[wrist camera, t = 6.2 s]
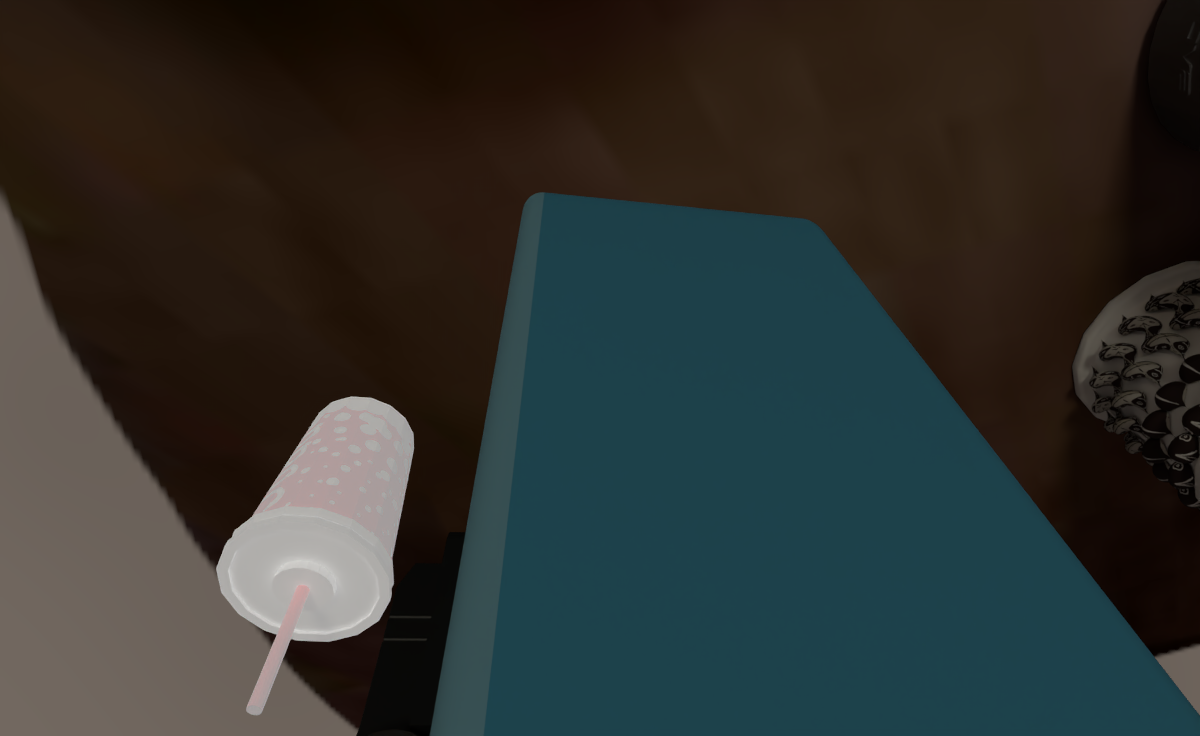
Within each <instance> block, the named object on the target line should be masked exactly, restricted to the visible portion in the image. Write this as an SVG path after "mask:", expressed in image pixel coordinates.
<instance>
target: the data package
mask: <svg viewBox="0 0 1200 736" xmlns="http://www.w3.org/2000/svg"><path fill="white" fill-rule="evenodd" d="M430 736H1200V715H1199V714H1198V713H1197V711H1196V710H1195V709H1194V708H1193V706H1192V705H1191V704H1190V702H1189V701H1188V700H1187V699H1186V697H1185V696H1184V695H1183V694H1182V692H1181V691H1180V690H1179V688H1178V687H1177V686H1176V684H1175V683H1174V682H1173V681H1172V679H1171V678H1170V677H1169V675H1168V674H1167V673H1166V672H1165V670H1164V669H1163V668H1162V666H1161V665H1160V664H1159V663H1158V661H1157V660H1156V659H1155V657H1154V656H1153V655H1152V654H1151V652H1150V651H1149V650H1148V648H1147V647H1146V646H1145V645H1144V643H1143V642H1142V641H1141V639H1140V638H1139V637H1138V636H1137V634H1136V633H1135V632H1134V630H1133V629H1132V628H1131V627H1130V625H1129V624H1128V623H1127V621H1126V620H1125V619H1124V618H1123V616H1122V615H1121V614H1120V612H1119V611H1118V610H1117V609H1116V607H1115V606H1114V605H1113V603H1112V602H1111V601H1110V600H1109V598H1108V597H1107V596H1106V594H1105V593H1104V592H1103V591H1102V589H1101V588H1100V587H1099V585H1098V584H1097V583H1096V582H1095V580H1094V579H1093V578H1092V576H1091V575H1090V574H1089V573H1088V571H1087V570H1086V569H1085V567H1084V566H1083V565H1082V564H1081V562H1080V561H1079V560H1078V558H1077V557H1076V556H1075V555H1074V553H1073V552H1072V551H1071V549H1070V548H1069V547H1068V546H1067V544H1066V543H1065V542H1064V540H1063V539H1062V538H1061V537H1060V535H1059V534H1058V533H1057V531H1056V530H1055V529H1054V528H1053V526H1052V525H1051V524H1050V522H1049V521H1048V520H1047V519H1046V517H1045V516H1044V515H1043V513H1042V512H1041V511H1040V510H1039V508H1038V507H1037V506H1036V504H1035V503H1034V502H1033V501H1032V499H1031V498H1030V497H1029V495H1028V494H1027V493H1026V492H1025V490H1024V489H1023V488H1022V486H1021V485H1020V484H1019V483H1018V481H1017V480H1016V479H1015V477H1014V476H1013V475H1012V474H1011V472H1010V471H1009V470H1008V468H1007V467H1006V466H1005V465H1004V463H1003V462H1002V461H1001V459H1000V458H999V457H998V456H997V454H996V453H995V452H994V450H993V449H992V448H991V447H990V445H989V444H988V443H987V441H986V440H985V439H984V438H983V436H982V435H981V434H980V432H979V431H978V430H977V429H976V427H975V426H974V425H973V423H972V422H971V421H970V420H969V418H968V417H967V416H966V414H965V413H964V412H963V411H962V409H961V408H960V407H959V405H958V404H957V403H956V402H955V400H954V399H953V398H952V396H951V395H950V394H949V393H948V391H947V390H946V389H945V387H944V386H943V385H942V384H941V382H940V381H939V380H938V378H937V377H936V376H935V375H934V373H933V372H932V371H931V369H930V368H929V367H928V366H927V364H926V363H925V362H924V360H923V359H922V358H921V357H920V355H919V354H918V353H917V351H916V350H915V349H914V348H913V346H912V345H911V344H910V342H909V341H908V340H907V339H906V337H905V336H904V335H903V333H902V332H901V331H900V330H899V328H898V327H897V326H896V324H895V323H894V322H893V321H892V319H891V318H890V317H889V315H888V314H887V313H886V312H885V310H884V309H883V308H882V306H881V305H880V304H879V302H878V301H877V300H876V299H875V297H874V296H873V295H872V293H871V292H870V291H869V290H868V288H867V287H866V286H865V284H864V283H863V282H862V281H861V279H860V278H859V277H858V275H857V274H856V273H855V272H854V270H853V269H852V268H851V266H850V265H849V264H848V263H847V261H846V260H845V259H844V257H843V256H842V255H841V254H840V252H839V251H838V250H837V248H836V247H835V246H834V245H833V243H832V242H831V241H830V239H829V238H828V237H827V236H826V234H825V233H824V232H823V231H822V230H821V229H820V228H819V227H818V226H817V225H816V224H815V223H813V222H811V221H809V220H807V219H801V218H791V217H781V216H771V215H761V214H751V213H741V212H731V211H721V210H711V209H701V208H691V207H681V206H671V205H662V204H652V203H642V202H632V201H622V200H612V199H602V198H592V197H582V196H572V195H562V194H552V193H537V194H534V195H532V196H531V197H530V198H529V199H528V200H527V201H526V203H525V205H524V208H523V213H522V218H521V224H520V229H519V235H518V241H517V246H516V252H515V257H514V263H513V269H512V274H511V280H510V286H509V291H508V297H507V303H506V308H505V314H504V319H503V325H502V331H501V336H500V342H499V348H498V353H497V359H496V365H495V370H494V376H493V381H492V387H491V393H490V398H489V404H488V410H487V415H486V421H485V427H484V432H483V438H482V443H481V449H480V455H479V460H478V466H477V472H476V477H475V483H474V489H473V494H472V500H471V506H470V511H469V517H468V522H467V528H466V534H465V539H464V545H463V551H462V556H461V562H460V568H459V573H458V579H457V584H456V590H455V596H454V601H453V607H452V613H451V618H450V624H449V630H448V635H447V641H446V646H445V652H444V658H443V663H442V669H441V675H440V680H439V686H438V692H437V697H436V703H435V708H434V714H433V720H432V725H431V731H430Z"/></svg>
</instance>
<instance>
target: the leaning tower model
mask: <svg viewBox="0 0 1200 736" xmlns="http://www.w3.org/2000/svg"><path fill="white" fill-rule="evenodd" d="M1072 370H1073V378H1074V385H1075V393H1076V395H1077V396H1078V397H1079V399H1080V400H1081V401H1082V402H1083V403H1084V404H1085V406H1086V407H1087V408H1088V409H1089V410H1090V412H1091V413H1092V414H1093V415H1094V416H1095V417H1096V418H1099V419H1101V420H1104V421H1106V422H1105V423H1104V428H1105V430H1106V431H1108V432H1115V433H1116V434H1124V433H1126V432H1128V433H1127V434H1126V435H1125V436H1124V441H1125V442H1126V444H1125V449H1126V450H1127V451H1128V452H1129V453H1132V454H1135V453H1138V452H1142V455H1143V457H1144V459H1145V460H1146V462H1147V463H1148V464H1149V465H1151V466H1153V473H1154V475H1155V476H1156V478H1158V479H1159V480H1161V481H1163V482H1169V483H1170V484H1171V485H1172V486H1173V487H1175V488H1176V489H1177V490H1178V496H1179V499H1180V501H1181V502H1182V503H1183V504H1184V505H1186V506H1188V507H1190V508H1199V511H1200V261H1186V262H1183V263H1180V264H1177V265H1175V266H1172V267H1169V268H1166V269H1164V270H1161V271H1158V272H1155V273H1153V274H1150V275H1147V276H1145V277H1143V278H1142V279H1140V280H1139V281H1138V282H1136V283H1135V284H1133V285H1132V286H1131V287H1129V288H1128V289H1126V290H1125V291H1124V292H1122V293H1121V294H1119V295H1118V296H1116V297H1115V298H1114V299H1112V300H1111V301H1109V302H1108V304H1107V305H1106V306H1105V307H1104V309H1103V310H1102V311H1101V312H1100V313H1099V315H1098V316H1097V317H1096V318H1095V320H1094V321H1093V322H1092V323H1091V325H1090V326H1089V327H1088V328H1087V330H1086V331H1085V332H1084V333H1083V336H1082V339H1081V342H1080V345H1079V347H1078V350H1077V353H1076V356H1075V359H1074V362H1073V365H1072Z"/></svg>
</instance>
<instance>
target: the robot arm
mask: <svg viewBox="0 0 1200 736" xmlns="http://www.w3.org/2000/svg"><path fill="white" fill-rule="evenodd" d="M1148 84H1149V90H1150V97H1151V102H1152V105H1153V107H1154V109H1155V111H1156V114H1157V116H1158V118H1159V120H1160V123H1161V124H1162V125H1163V126H1164V127H1165V128H1166V129H1167V131H1168V132H1169V133H1170V134H1171V135H1172V136H1173V137H1174V138H1175V139H1176V140H1178V141H1180V142H1181V143H1183V144H1185V145H1186V146H1188V147H1190V148H1191V149H1193V150H1196V151H1198V152H1200V0H1167V2H1166V4H1165V6H1164V8H1163V10H1162V13H1161V15H1160V17H1159V19H1158V22H1157V26H1156V29H1155V33H1154V36H1153V40H1152V43H1151V47H1150V53H1149V65H1148ZM465 534H466V532H450V533H449V534H448V537H447V542H446V547H445V552H444V556H443V561H442V564H426V563H416V564H415V565H414V566H413V568H412V569H411V570H410V571H409V573H408V574H407V575H406V576H405V578H404V579H403V580H402V581H401V583H400V584H399V585H398V586H397V589H396V592H395V596H394V600H393V604H392V607H391V611H390V618H389V620H388V623H387V626H386V630H385V634H384V641H383V642H382V645H381V649H380V653H379V657H378V660H377V664H376V668H375V672H374V676H373V679H372V683H371V687H370V691H369V694H368V698H367V702H366V706H365V710H364V713H363V717H362V721H361V725H360V728H359V730H358V733H357V735H356V736H430V731H431V725H432V720H433V714H434V708H435V703H436V697H437V692H438V686H439V680H440V675H441V669H442V663H443V658H444V652H445V646H446V641H447V635H448V630H449V624H450V618H451V613H452V607H453V601H454V596H455V590H456V584H457V579H458V573H459V568H460V562H461V556H462V551H463V545H464V539H465Z"/></svg>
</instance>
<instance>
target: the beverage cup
mask: <svg viewBox="0 0 1200 736" xmlns="http://www.w3.org/2000/svg"><path fill="white" fill-rule="evenodd" d="M413 451H414V438H413V432H412V430H411V428H410V426H409V424H408V422H407V420H406V419H405V417H403V416H402V415H401V414H400V413H399V412H397V411H396V410H395V409H394V408H393V407H392V406H390V405H388V404H385V403H383V402H380V401H378V400H375V399H373V398H364V397H348V398H344V399H341V400H337V401H334V402H332V403H331V404H329V405H328V406H327V407H326V408H324V409H323V410H322V411H321V412H320V413H319V414H318V416H317V417H316V419H315V420H314V422H313V423H312V425H311V426H310V428H309V429H308V431H307V433H306V434H305V436H304V437H303V439H302V440H301V442H300V443H299V445H298V446H297V448H296V450H295V451H294V453H293V454H292V456H291V457H290V459H289V460H288V462H287V463H286V465H285V466H284V468H283V470H282V471H281V473H280V474H279V476H278V477H277V479H276V480H275V482H274V483H273V485H272V487H271V488H270V490H269V491H268V493H267V494H266V496H265V497H264V499H263V500H262V502H261V503H260V505H259V507H258V508H257V510H256V511H255V513H254V514H253V516H252V517H251V518H250V519H249V520H247V521H246V522H245V523H244V524H242V525H241V526H240V527H239V528H237V529H236V530H235V531H234V533H233V536H232V538H231V539H229V540H228V541H227V543H226V545H225V547H224V550H223V552H222V555H221V557H220V560H219V563H218V565H217V568H216V570H217V574H218V579H219V584H220V588H221V593H222V594H223V595H224V596H225V598H226V599H227V600H228V601H229V603H230V604H231V605H232V606H233V608H234V609H235V610H236V611H237V613H238V614H239V615H241V616H242V617H244V618H246V619H247V620H249V621H250V622H252V623H253V624H255V625H257V626H258V627H260V628H261V629H263V630H265V631H267V632H271V633H274V634H277V636H276V638H275V641H274V643H273V645H272V648H271V650H270V653H269V655H268V657H267V660H266V662H265V665H264V667H263V670H262V672H261V675H260V677H259V679H258V681H257V684H256V686H255V689H254V691H253V694H252V696H251V698H250V701H249V703H248V706H247V708H246V710H247V712H248V713H250V714H252V715H259V714H261V713H262V711H263V708H264V706H265V703H266V701H267V698H268V695H269V693H270V690H271V688H272V685H273V683H274V680H275V678H276V675H277V673H278V670H279V668H280V665H281V662H282V660H283V657H284V655H285V652H286V650H287V647H288V645H289V642H290V640H291V639H294V640H300V641H324V642H329V641H334V640H338V639H342V638H346V637H350V636H355V635H358V634H359V633H361V632H362V631H364V630H365V629H367V628H368V627H370V626H371V625H373V624H374V623H376V622H377V621H379V620H380V618H381V616H382V614H383V612H384V611H385V609H386V607H387V605H388V603H389V602H390V599H391V595H392V590H391V588H392V586H393V584H394V578H393V561H392V557H393V552H394V547H395V542H396V536H397V531H398V526H399V521H400V516H401V511H402V506H403V501H404V496H405V491H406V486H407V481H408V476H409V471H410V466H411V461H412V456H413Z"/></svg>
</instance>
